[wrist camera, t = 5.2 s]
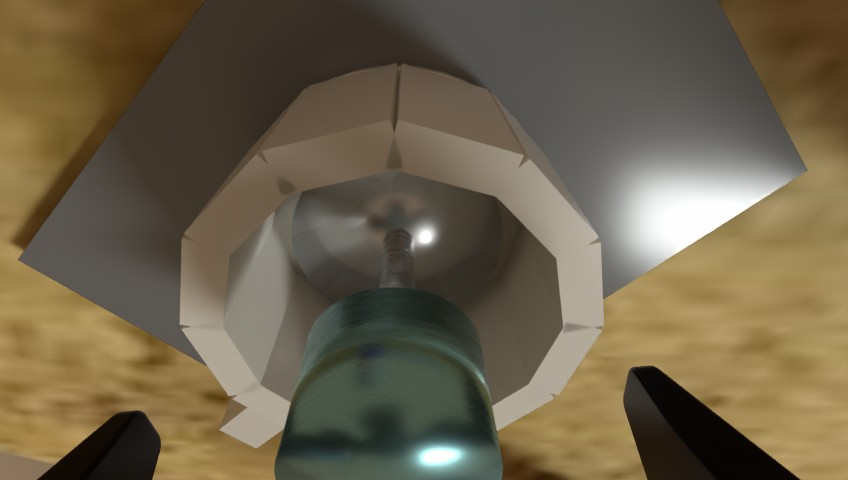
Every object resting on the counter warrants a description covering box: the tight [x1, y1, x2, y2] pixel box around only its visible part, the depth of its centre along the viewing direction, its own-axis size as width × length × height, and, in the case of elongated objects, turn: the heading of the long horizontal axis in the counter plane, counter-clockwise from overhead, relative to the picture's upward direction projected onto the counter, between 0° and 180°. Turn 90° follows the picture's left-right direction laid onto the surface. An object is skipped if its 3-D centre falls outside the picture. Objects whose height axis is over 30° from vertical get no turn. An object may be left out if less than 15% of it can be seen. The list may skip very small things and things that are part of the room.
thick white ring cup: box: [180, 63, 604, 449], centre depth 13 cm, size 11×9×5 cm
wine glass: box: [274, 170, 504, 480], centre depth 10 cm, size 6×6×8 cm
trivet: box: [18, 0, 807, 366], centre depth 15 cm, size 20×15×1 cm
